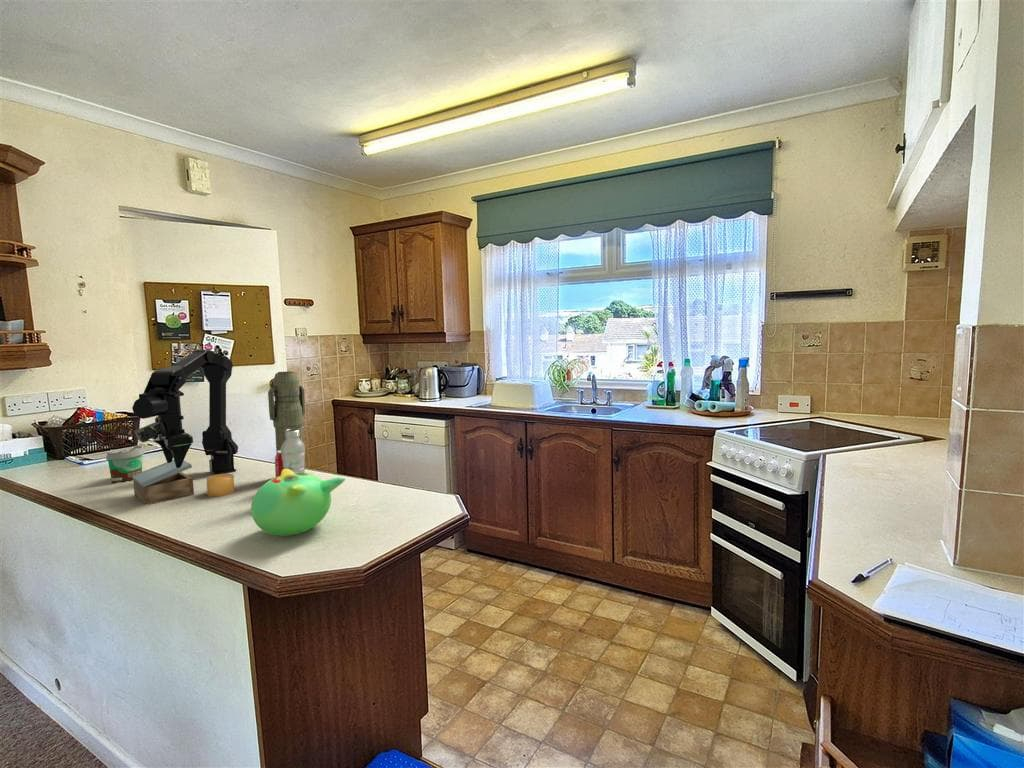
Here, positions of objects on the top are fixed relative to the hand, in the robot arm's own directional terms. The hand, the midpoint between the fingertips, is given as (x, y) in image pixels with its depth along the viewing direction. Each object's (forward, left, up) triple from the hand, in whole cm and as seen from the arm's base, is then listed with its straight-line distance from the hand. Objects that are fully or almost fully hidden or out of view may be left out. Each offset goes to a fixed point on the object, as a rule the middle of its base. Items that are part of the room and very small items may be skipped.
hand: (173, 464), depth 149 cm
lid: (+3, 0, -2) cm, 4 cm away
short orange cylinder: (-9, +10, -9) cm, 16 cm away
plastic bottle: (-21, +33, -9) cm, 40 cm away
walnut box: (+3, 0, -9) cm, 9 cm away
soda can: (-24, +22, -9) cm, 34 cm away
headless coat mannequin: (-30, +10, -9) cm, 33 cm away
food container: (+5, -29, -9) cm, 31 cm away
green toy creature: (-10, +57, -9) cm, 59 cm away
